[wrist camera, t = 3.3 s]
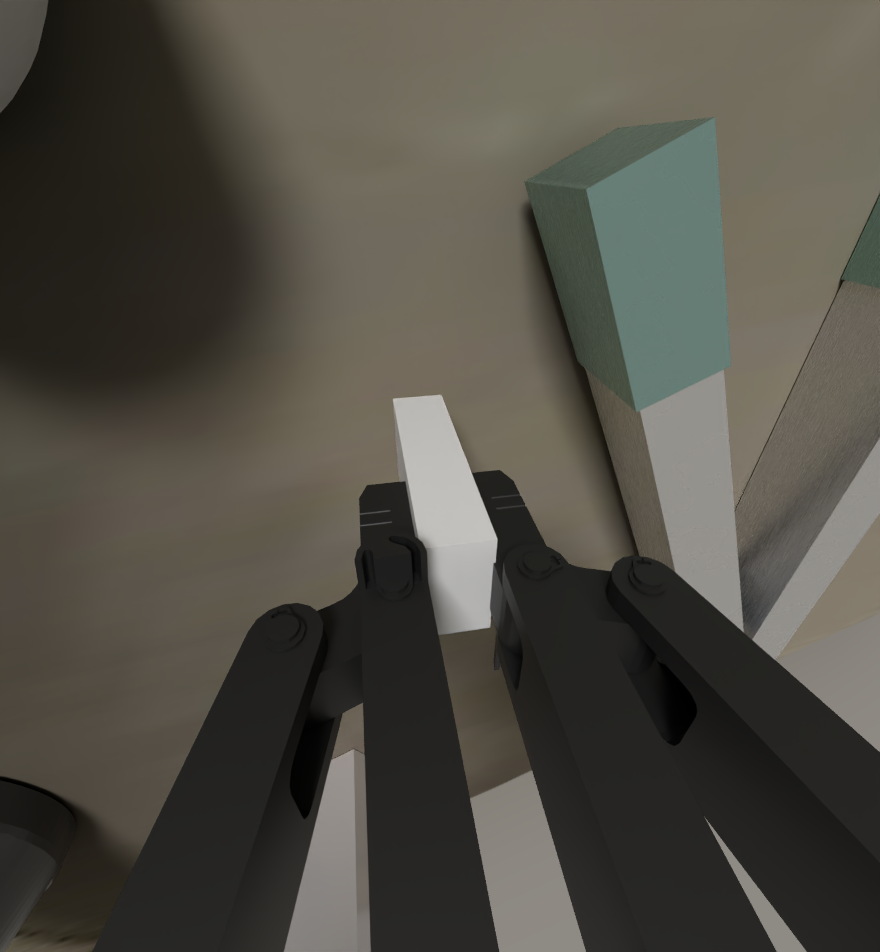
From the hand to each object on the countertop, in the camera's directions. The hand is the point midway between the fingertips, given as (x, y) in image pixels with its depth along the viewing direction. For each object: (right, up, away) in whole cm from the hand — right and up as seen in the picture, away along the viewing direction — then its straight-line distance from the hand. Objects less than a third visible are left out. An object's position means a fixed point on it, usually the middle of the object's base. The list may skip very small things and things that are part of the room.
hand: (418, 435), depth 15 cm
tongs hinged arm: (+9, -1, +5) cm, 11 cm away
